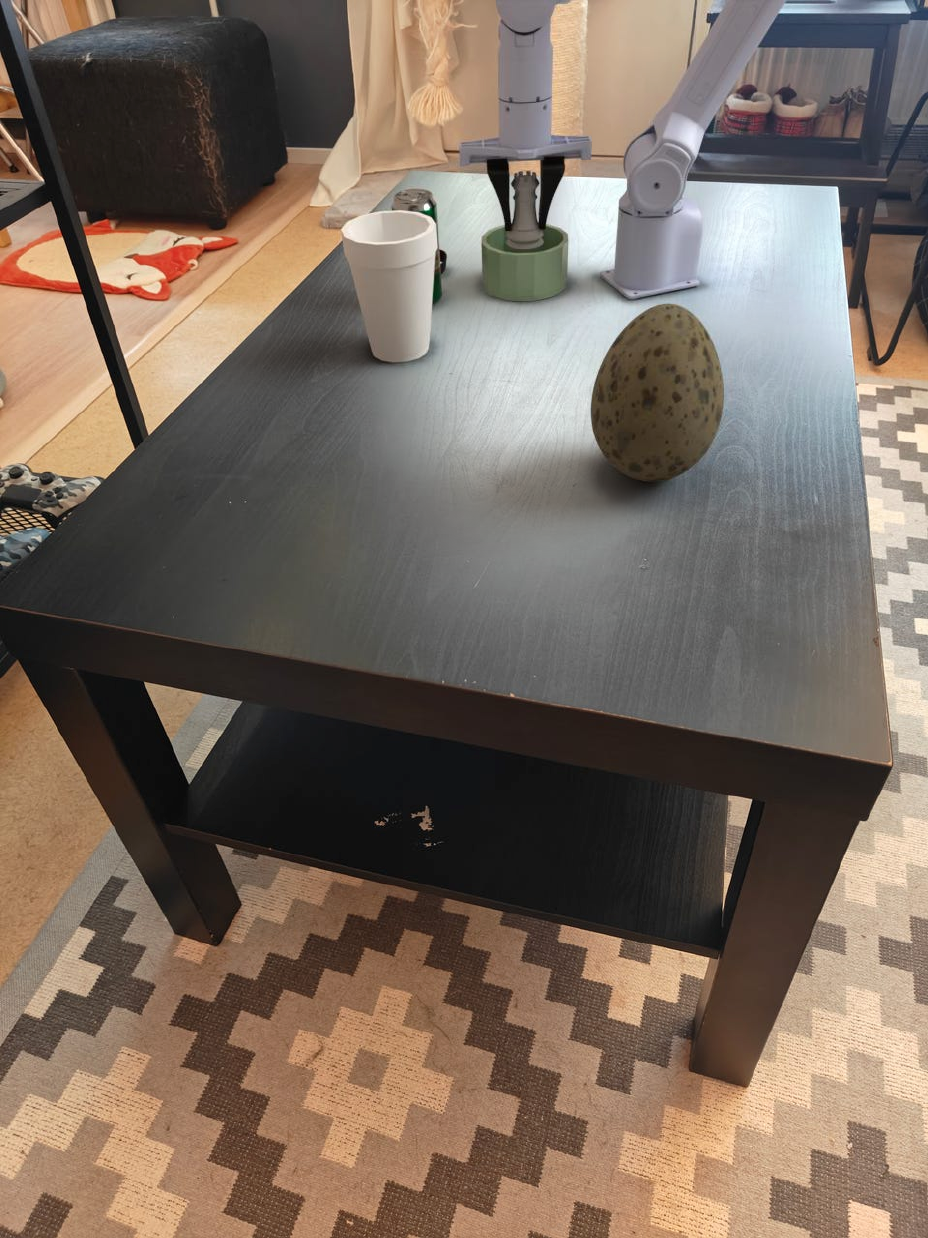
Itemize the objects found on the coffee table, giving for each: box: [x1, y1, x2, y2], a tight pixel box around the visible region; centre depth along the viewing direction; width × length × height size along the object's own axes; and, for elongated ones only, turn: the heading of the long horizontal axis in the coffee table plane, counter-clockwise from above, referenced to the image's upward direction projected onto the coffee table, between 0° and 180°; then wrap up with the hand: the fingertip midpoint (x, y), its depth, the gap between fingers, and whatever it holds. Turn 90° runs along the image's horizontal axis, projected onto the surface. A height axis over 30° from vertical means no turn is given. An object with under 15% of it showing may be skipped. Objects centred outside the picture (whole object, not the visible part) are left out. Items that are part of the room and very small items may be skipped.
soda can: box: [390, 188, 443, 306], centre depth 103 cm, size 5×5×12 cm
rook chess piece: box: [506, 170, 544, 252], centre depth 103 cm, size 4×4×8 cm
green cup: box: [480, 223, 569, 302], centre depth 107 cm, size 10×10×6 cm
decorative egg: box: [590, 303, 725, 483], centre depth 74 cm, size 11×11×15 cm
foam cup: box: [340, 210, 438, 363], centre depth 94 cm, size 10×9×13 cm
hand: (524, 227), depth 105 cm, fingers closed on rook chess piece, 3 cm apart
